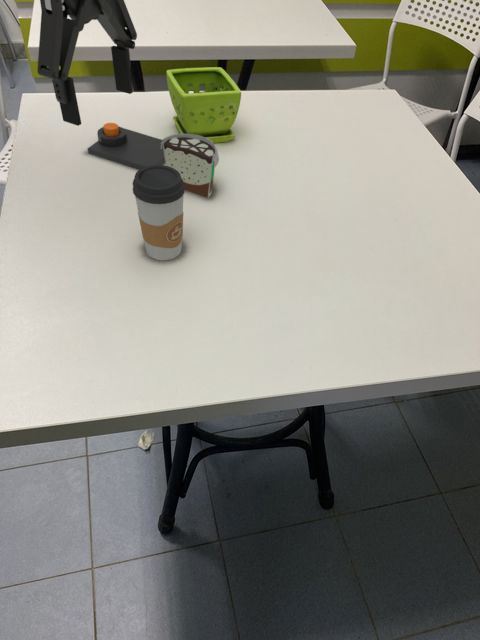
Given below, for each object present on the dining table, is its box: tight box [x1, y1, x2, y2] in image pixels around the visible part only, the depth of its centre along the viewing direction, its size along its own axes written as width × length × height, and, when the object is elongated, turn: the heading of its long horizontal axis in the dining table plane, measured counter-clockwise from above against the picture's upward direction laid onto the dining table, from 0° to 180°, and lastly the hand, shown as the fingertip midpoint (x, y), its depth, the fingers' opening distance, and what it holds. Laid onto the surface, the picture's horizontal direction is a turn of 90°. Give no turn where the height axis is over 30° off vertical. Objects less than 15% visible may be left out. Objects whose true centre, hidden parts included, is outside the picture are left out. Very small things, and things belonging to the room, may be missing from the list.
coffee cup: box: [132, 164, 186, 261], centre depth 84 cm, size 8×8×15 cm
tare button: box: [102, 122, 120, 136], centre depth 109 cm, size 3×3×2 cm
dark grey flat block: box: [87, 125, 166, 170], centre depth 110 cm, size 17×12×4 cm
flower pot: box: [166, 66, 242, 144], centre depth 114 cm, size 14×14×13 cm
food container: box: [161, 133, 220, 199], centre depth 101 cm, size 12×6×10 cm, turn 65°
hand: (99, 106), depth 79 cm, fingers open, 13 cm apart
